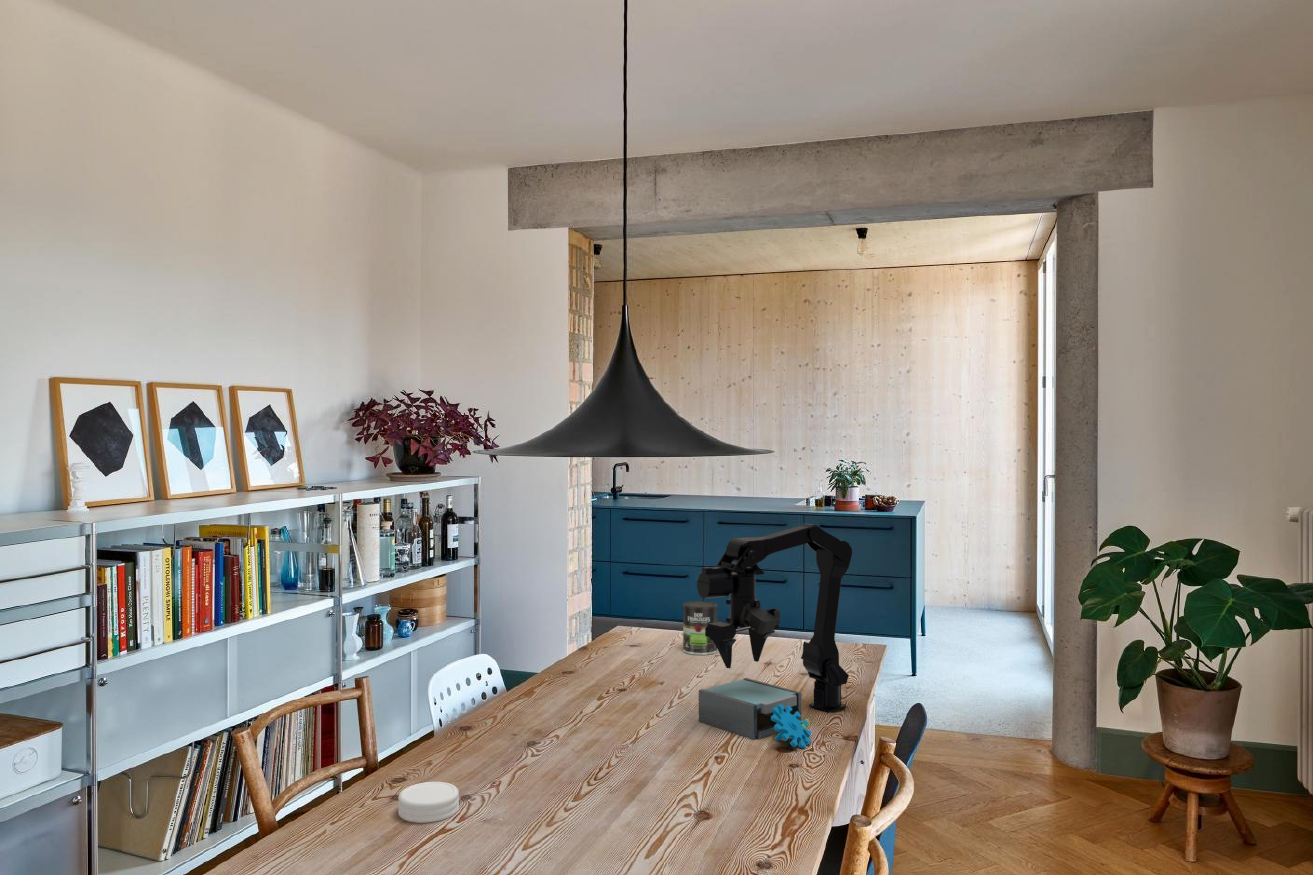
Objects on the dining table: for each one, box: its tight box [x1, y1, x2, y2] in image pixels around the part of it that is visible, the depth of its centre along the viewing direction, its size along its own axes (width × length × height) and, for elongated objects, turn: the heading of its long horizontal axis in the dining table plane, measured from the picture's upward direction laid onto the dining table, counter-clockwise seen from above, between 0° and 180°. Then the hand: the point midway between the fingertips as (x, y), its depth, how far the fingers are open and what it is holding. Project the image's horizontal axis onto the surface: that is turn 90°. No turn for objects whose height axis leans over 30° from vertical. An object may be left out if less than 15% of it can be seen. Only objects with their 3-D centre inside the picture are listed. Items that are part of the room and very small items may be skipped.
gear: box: [770, 704, 812, 749], centre depth 190 cm, size 11×6×10 cm
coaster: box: [397, 781, 460, 824], centre depth 155 cm, size 10×10×4 cm
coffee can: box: [682, 600, 719, 656], centre depth 271 cm, size 10×10×14 cm
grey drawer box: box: [698, 677, 802, 741], centre depth 203 cm, size 16×17×7 cm
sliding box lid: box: [703, 678, 797, 715], centre depth 203 cm, size 13×18×2 cm
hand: (742, 664), depth 205 cm, fingers open, 9 cm apart
